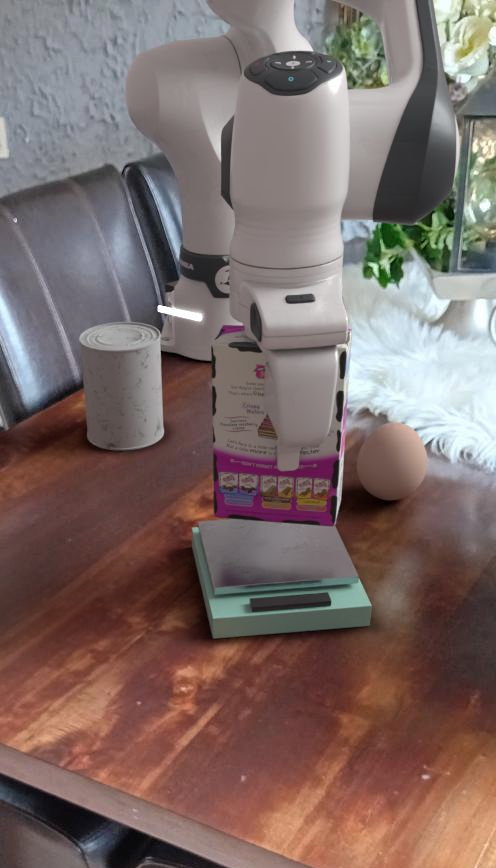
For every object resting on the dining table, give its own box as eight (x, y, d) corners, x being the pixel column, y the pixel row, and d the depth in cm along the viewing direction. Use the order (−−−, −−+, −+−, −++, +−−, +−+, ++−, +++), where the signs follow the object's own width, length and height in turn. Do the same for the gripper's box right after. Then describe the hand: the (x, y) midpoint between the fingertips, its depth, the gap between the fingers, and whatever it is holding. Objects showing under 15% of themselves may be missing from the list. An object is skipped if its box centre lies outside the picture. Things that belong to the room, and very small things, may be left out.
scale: (192, 546, 101) (191, 522, 100) (329, 535, 102) (330, 511, 100) (212, 638, 88) (212, 612, 87) (369, 626, 89) (372, 599, 87)
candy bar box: (341, 502, 92) (355, 326, 83) (335, 529, 88) (349, 348, 79) (222, 492, 95) (221, 320, 85) (211, 518, 91) (209, 341, 81)
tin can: (116, 458, 118) (109, 356, 111) (72, 432, 125) (63, 335, 118) (179, 434, 123) (177, 335, 116) (133, 411, 129) (128, 316, 122)
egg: (429, 511, 105) (439, 437, 100) (360, 514, 105) (366, 440, 100) (414, 480, 110) (423, 408, 105) (349, 482, 111) (355, 411, 106)
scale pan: (197, 528, 99) (197, 521, 99) (328, 518, 99) (328, 510, 99) (213, 595, 89) (213, 587, 89) (358, 583, 90) (358, 576, 89)
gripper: (226, 256, 88) (226, 405, 96) (267, 336, 72) (263, 507, 80) (297, 251, 88) (291, 400, 97) (355, 330, 72) (341, 501, 80)
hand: (278, 449), depth 88 cm, fingers closed on candy bar box, 6 cm apart
